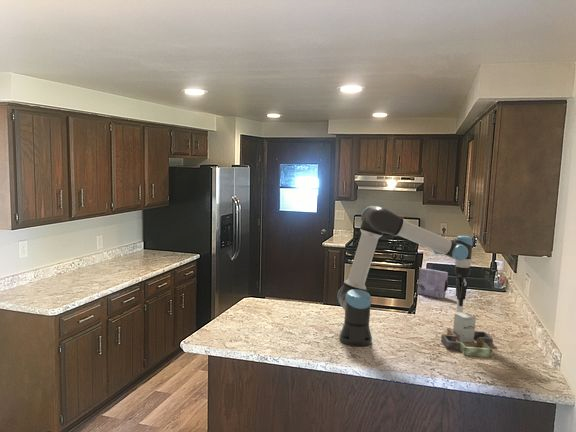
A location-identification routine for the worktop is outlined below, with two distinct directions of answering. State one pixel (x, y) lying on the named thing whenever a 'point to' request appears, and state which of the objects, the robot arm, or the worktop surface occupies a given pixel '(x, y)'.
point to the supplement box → (464, 327)
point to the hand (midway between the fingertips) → (459, 311)
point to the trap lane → (482, 342)
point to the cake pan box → (432, 283)
